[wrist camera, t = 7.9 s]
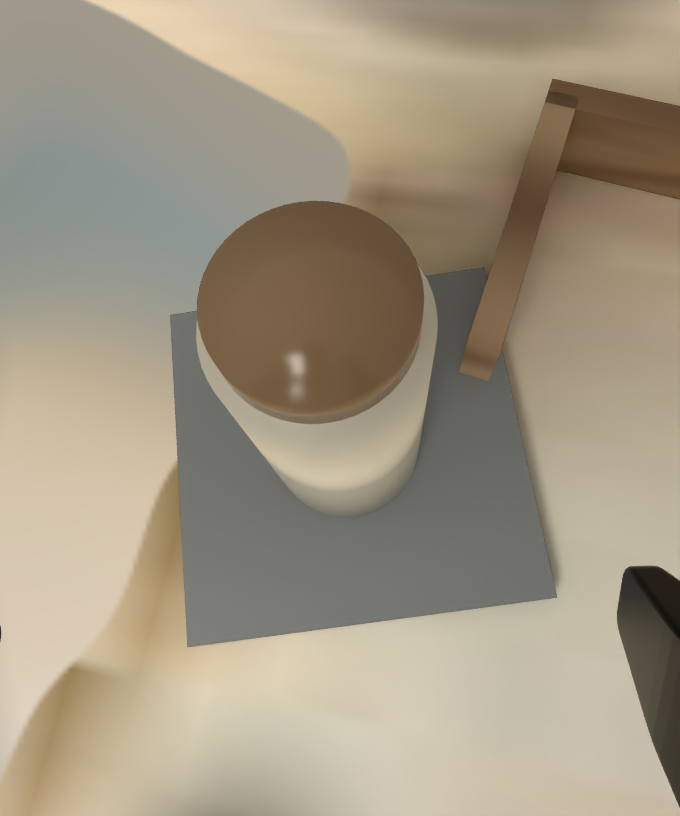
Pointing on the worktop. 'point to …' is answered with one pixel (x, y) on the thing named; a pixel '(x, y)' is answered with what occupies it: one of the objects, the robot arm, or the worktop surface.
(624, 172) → the wooden u-shaped frame
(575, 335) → the worktop surface
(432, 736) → the worktop surface
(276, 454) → the jar
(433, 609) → the pad
